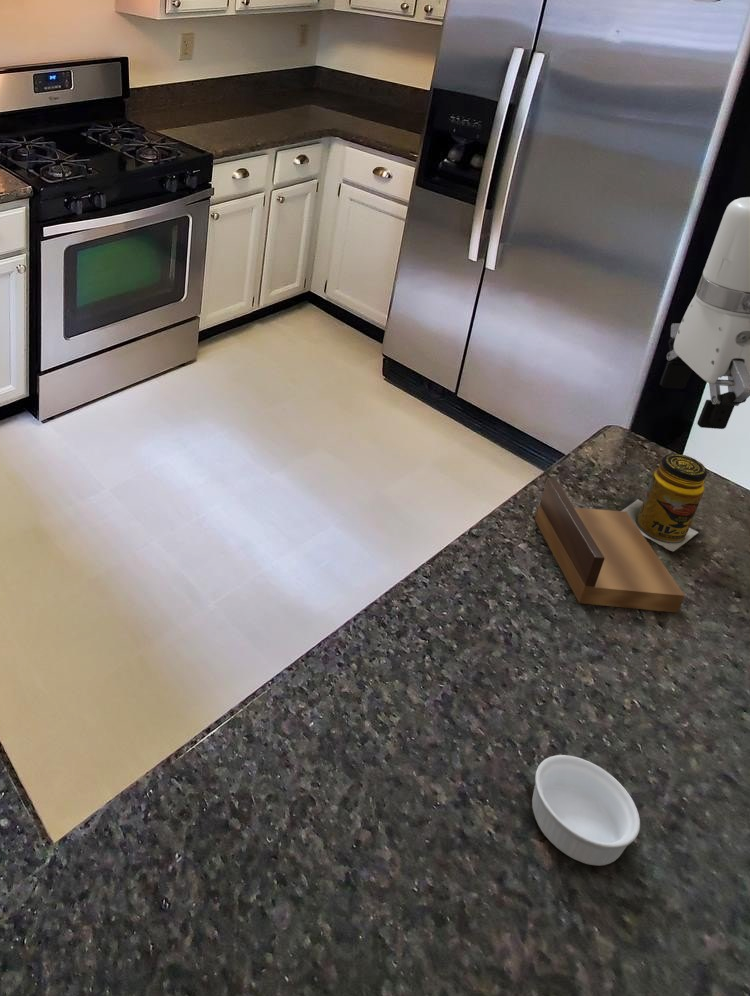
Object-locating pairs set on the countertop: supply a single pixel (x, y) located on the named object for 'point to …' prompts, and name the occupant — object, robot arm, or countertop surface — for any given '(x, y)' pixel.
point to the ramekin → (583, 810)
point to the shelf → (604, 555)
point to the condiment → (670, 501)
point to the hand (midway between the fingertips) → (690, 406)
